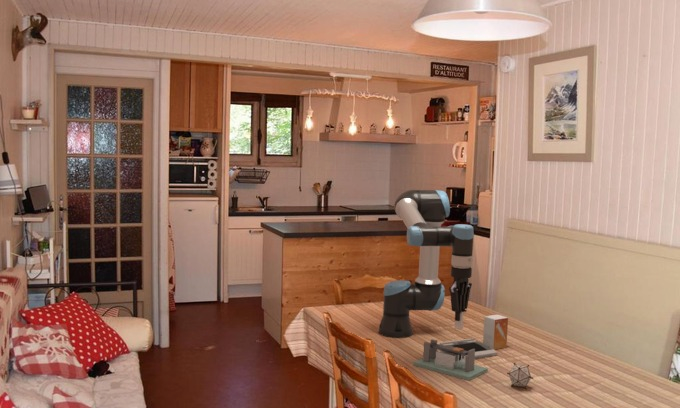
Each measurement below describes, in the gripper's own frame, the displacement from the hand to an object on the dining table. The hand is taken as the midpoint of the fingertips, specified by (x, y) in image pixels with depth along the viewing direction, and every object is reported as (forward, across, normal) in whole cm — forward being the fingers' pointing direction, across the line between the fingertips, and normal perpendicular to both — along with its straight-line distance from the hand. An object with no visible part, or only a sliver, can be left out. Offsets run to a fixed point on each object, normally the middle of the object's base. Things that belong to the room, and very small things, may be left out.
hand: (458, 328), depth 248 cm
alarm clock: (+17, +23, +8) cm, 29 cm away
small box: (+16, +38, +4) cm, 41 cm away
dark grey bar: (+9, 0, +4) cm, 10 cm away
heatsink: (+16, 0, +3) cm, 16 cm away
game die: (+16, 0, -25) cm, 30 cm away
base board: (+16, 0, +3) cm, 16 cm away
